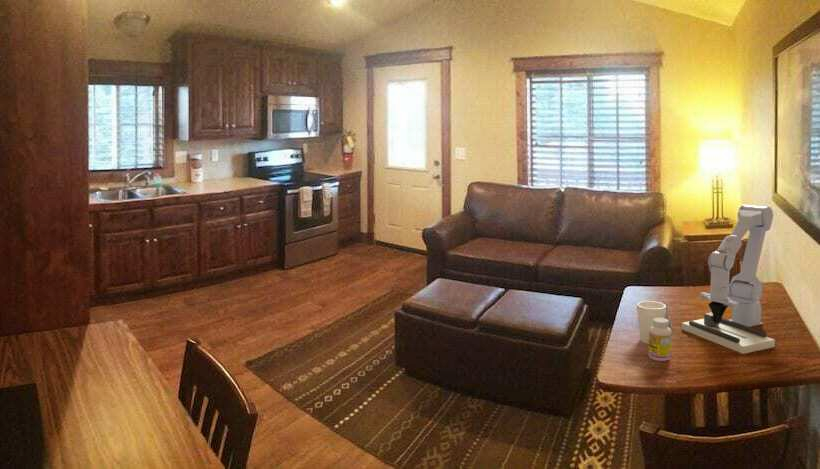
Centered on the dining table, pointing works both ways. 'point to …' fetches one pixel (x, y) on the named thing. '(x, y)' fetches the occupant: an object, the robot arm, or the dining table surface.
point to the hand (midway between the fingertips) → (717, 322)
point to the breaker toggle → (709, 319)
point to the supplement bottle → (660, 340)
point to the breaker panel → (747, 339)
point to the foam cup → (648, 316)
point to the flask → (667, 316)
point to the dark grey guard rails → (725, 333)
